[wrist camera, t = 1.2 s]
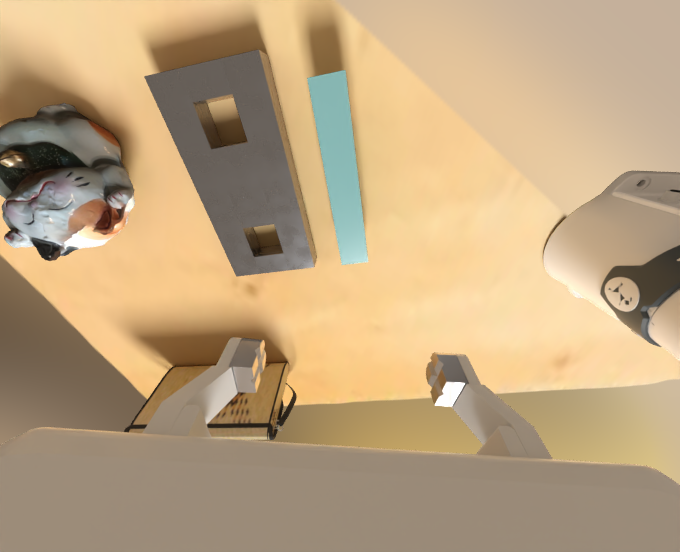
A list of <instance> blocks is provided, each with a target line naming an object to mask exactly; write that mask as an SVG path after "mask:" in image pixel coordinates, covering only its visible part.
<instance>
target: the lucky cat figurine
mask: <svg viewBox="0 0 680 552" xmlns="http://www.w3.org/2000/svg"><path fill="white" fill-rule="evenodd" d="M0 195H1V196H3V197H4V198H5V199H6V200H5V201H4V204H3V205H2V210H3V219H4V221H5V223H6V224H7V225H8V227H9V228H10V230H11V231H9V232H8V233H7V234H6V235H5V236H4V239H5V241H6V242H7V243H8V244H9V245H10V246H12V247H14V248H18V247H33V246H35V247H36V248H37V250H38V252H39V254H40V255H41V257H42V258H44V259H45V260H48V261H52V260H56V259H57V258H58V257H59V256H66V255H68V254H69V253H71V252H72V251H74V250H77V249H80V248H86V247H96V246H101V245H104V244H105V243H106V242H107V241H108V240H109V239H111V238H112V237H114V236H116V235H117V234H118V233H119V232H120V231H121V230H122V229H123V227H124V226H125V225H126V224H127V222H128V215H129V211H130V210H131V209H132V208H133V207H134V205H135V200H134V188H133V185H132V183H131V181H130V179H129V176H128V174H127V172H126V169H125V167H124V165H123V163H122V160H121V151H120V145H119V143H118V141H117V140H116V138H115V136H114V135H113V134H112V133H110V132H109V131H107V130H106V129H104V128H103V127H101V126H99V125H97V124H95V123H94V122H92V121H91V120H89V119H88V118H86V117H85V116H83V115H81V114H80V113H78V112H77V110H76V109H75V107H74V106H72V105H69V104H66V103H63V104H59V105H50V106H45V107H42V108H41V109H39V111H38V112H37V115H36V116H34V117H31V118H22V119H16V120H14V121H11V122H9V123H7V124H5V125H3V126H2V127H0Z"/></svg>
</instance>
